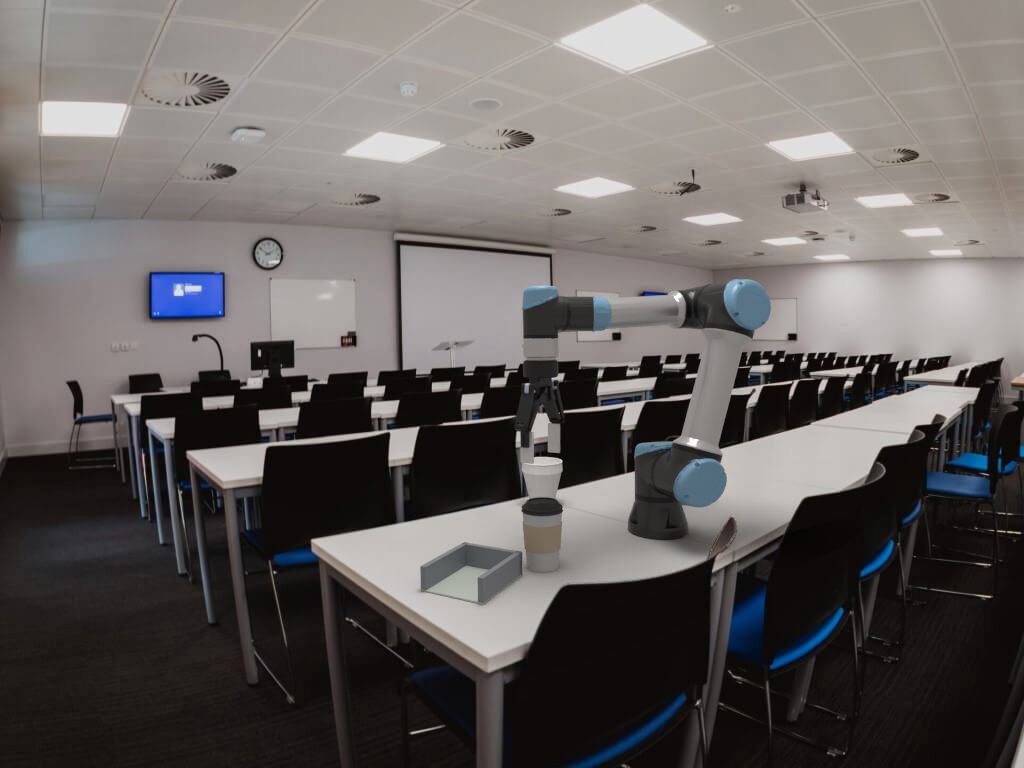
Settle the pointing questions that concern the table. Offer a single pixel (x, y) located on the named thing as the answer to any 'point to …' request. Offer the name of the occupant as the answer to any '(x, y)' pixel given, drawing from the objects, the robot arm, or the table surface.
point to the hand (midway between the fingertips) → (541, 457)
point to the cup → (542, 476)
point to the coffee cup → (542, 533)
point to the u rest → (471, 572)
